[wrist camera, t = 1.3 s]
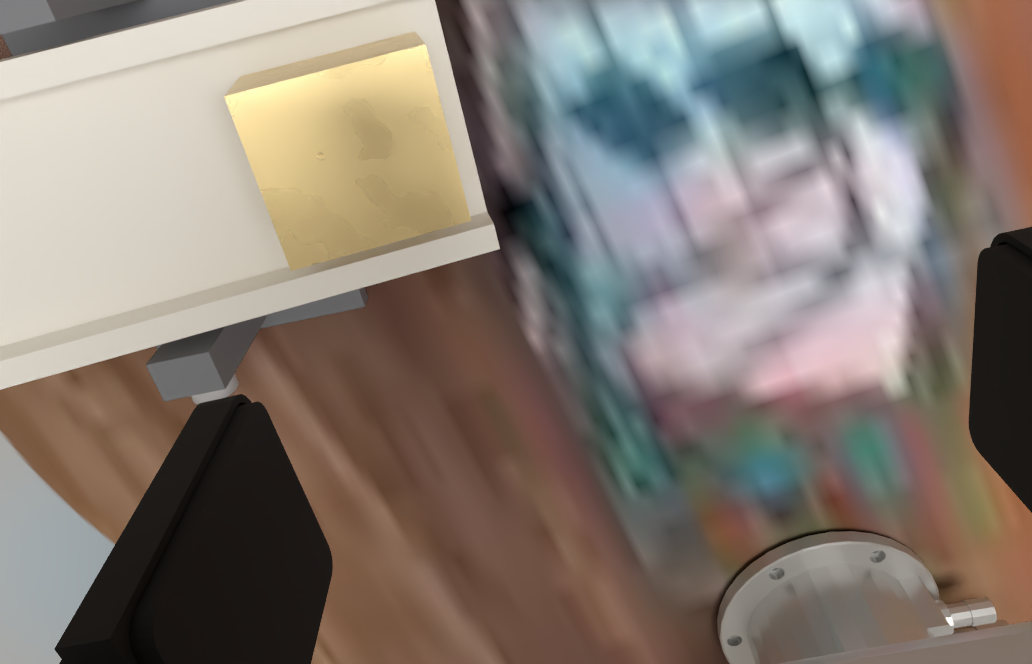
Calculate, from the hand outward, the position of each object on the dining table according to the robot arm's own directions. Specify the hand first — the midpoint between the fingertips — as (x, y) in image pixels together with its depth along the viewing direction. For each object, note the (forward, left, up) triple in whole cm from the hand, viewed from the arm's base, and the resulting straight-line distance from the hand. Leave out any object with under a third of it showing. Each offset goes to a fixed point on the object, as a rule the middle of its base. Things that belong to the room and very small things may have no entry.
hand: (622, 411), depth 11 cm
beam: (+16, 0, -23) cm, 28 cm away
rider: (+7, 0, -19) cm, 20 cm away
